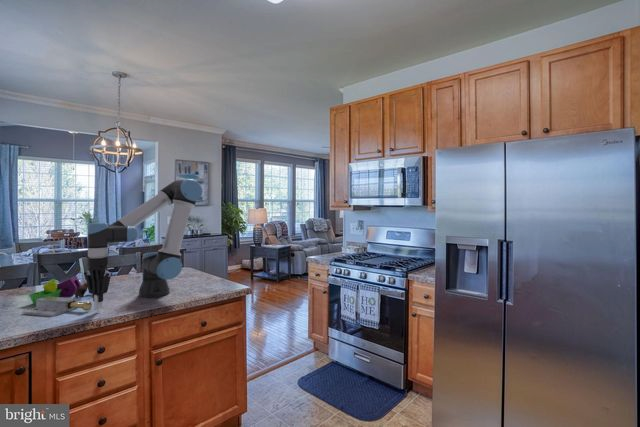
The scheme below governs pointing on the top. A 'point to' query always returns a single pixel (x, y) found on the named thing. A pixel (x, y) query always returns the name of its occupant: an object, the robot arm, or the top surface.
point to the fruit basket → (46, 291)
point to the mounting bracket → (69, 286)
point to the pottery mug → (81, 290)
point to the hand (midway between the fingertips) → (98, 308)
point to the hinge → (51, 306)
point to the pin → (81, 305)
